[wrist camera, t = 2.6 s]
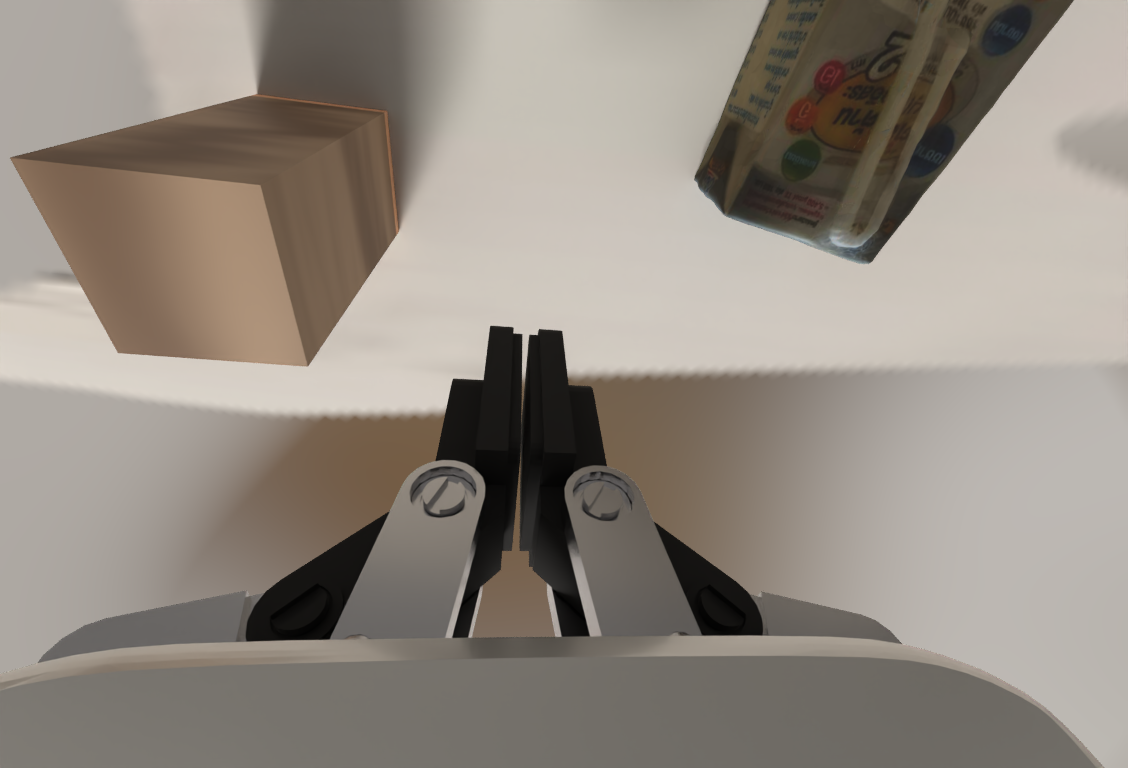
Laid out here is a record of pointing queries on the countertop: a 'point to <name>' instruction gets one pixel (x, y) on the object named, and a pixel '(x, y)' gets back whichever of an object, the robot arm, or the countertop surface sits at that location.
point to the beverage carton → (860, 111)
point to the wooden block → (223, 225)
